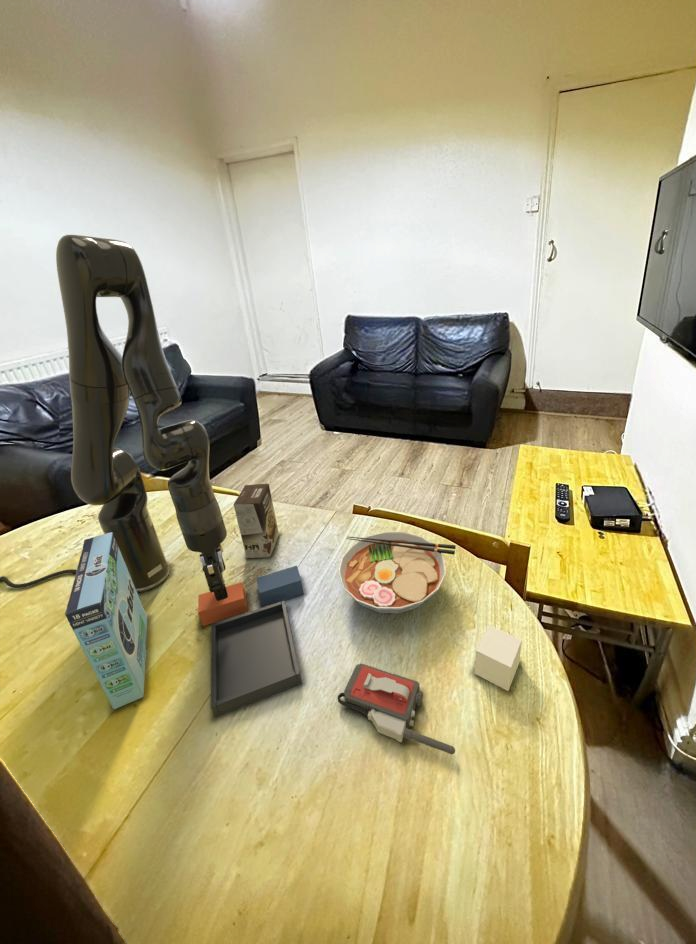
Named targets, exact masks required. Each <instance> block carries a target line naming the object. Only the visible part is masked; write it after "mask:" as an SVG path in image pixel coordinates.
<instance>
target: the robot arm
mask: <svg viewBox="0 0 696 944" xmlns="http://www.w3.org/2000/svg"><path fill="white" fill-rule="evenodd" d="M55 251H56V253H55V259H56V263H55V265H56V272H57V278H58V284H59V292H60V296H61V302H62V308H63V313H64V319H65V327H66V337H67V349H68V376H69V391H70V399H71V411H72V412H71V413H72V415H71V416H72V437H73V438H72V439H73V441H72V442H73V443H72V455H71V456H72V458H71V467H70V468H71V470H70V481H71V485H72V488H73V491H74V493H75V494H76V496H77V497H78V498H79V499H80V500H81V501H82V502H84V503H85V504H88V505H90V506H93V507H94V506H95V507H97V506H101V509H100V511H98V512H99V513H98V516H97V520H98V523H99V525H100V528H101V530H102V532H103V534H107V533H111V532H113V535H114V538H115V540H116V542H117V545H118V547H119V550H120V552H121V555H122V557H123V559H124V562H125V564H126V567H127V569H128V572H129V574H130V577H131V579H132V582H133V584H134V587H135V589H136V591H137V593H143V592H147V591H150V590H153V589H154V588H156V587H157V586H159V585H161V584H162V583H163V582H164V581H166V579H167V578H168V576H170V572H171V569H170V566H169V564H168V561H167V559H166V556H165V553H164V550H163V548H162V545H161V542H160V539H159V537H158V534H157V531H156V528H155V525H154V523H153V520H152V517H151V515H150V512H149V508H148V500H149V499H148V493H147V489H146V486H145V483H144V479H143V476H142V472H141V469H140V467H139V464H138V463H137V461H136V460H135V458H134V457H133V456H132V455H131V454H130V453H129V452H127V451H126V450H124V449H121V448H119V447H115V443H116V440H117V437H118V435H119V432H120V430H121V428H122V425H123V423H124V421H125V418H126V415H127V412H128V409H129V405H130V400H131V397H132V399H133V402H134V405H135V407H136V410H137V414H138V418H139V425H140V431H141V449H142V455H143V457H144V460H145V462H146V463H147V464H148V466H150V467H151V468H153V469H154V470H157V471H167V470H169V469H172V468H174V467H177V466H180V465H183V464H185V463H187V464H186V465H185V467H183V468H182V469H180V470H178V471H177V472H176V473H174V474H173V475H172V476H171V477H170V478H169V479H168V481H167V489H168V492H169V495H170V499H171V502H172V503H173V506H174V510H175V516H176V519H177V523H178V525H179V528H180V531H181V535H182V537H183V540H184V542H185V543H184V544H185V546H186V548H187V549H188V550H189V551H191V552H194V553H200V554H199V560H200V563H201V564H202V572H203V574H204V577H205V580H206V584H207V587H208V592H211V593H212V592H214V595H215V598H216V600H217V601H220V600H223V599H226V598H227V597H228V593H227V590H226V587H227V586H226V584H225V583H226V582H225V579H224V575H223V573H224V572H225V570H226V564H225V560H224V558H223V542H224V541H225V539H227V538H226V537H227V535H228V532H227V528H226V524H225V521H224V518H223V514H222V511H221V508H220V505H219V502H218V499H217V497H216V496H215V493H214V489H213V485H212V482H211V478H210V465H209V463H210V437H209V433H208V430H207V429H206V427H205V426H204V425H203V424H202V423H201V422H199V421H198V420H196V419H187V420H183V421H180V422H177V423H174V424H170V425H167V426H164V427H160V428H159V420H160V419H161V418H162V417H163V416H164V415H166V414H168V413H170V412H172V411H174V410H176V409H177V408H179V407H180V406H181V405H182V402H183V400H182V396H181V394H180V393H181V392H180V391H179V388H178V386H177V384H176V381H175V379H174V376H173V373H172V370H171V369H170V368H171V367H170V366H169V364H168V360H167V358H166V355H165V352H164V349H163V346H162V342H161V338H160V334H159V328H158V324H157V319H156V315H155V310H154V305H153V302H152V297H151V293H150V288H149V284H148V280H147V276H146V273H145V269H144V267H143V263H142V260H141V259H140V257H139V255H138V253H137V251H136V250H135V249H134V248H133V246H132V245H131V244H130V243H127V242H126V241H123V240H118V239H112V238H103V237H97V236H96V237H95V236H88V235H79V234H65V235H63V236H61V237H60V239H59V240H58V242H57V245H56V249H55ZM97 298H120V299H121V301H122V303H123V306H124V308H125V311H126V314H127V320H128V322H127V323H128V324H127V333H126V338H125V341H124V347H123V350H122V353H120V351H119V350H118V349H117V348H116V347H115V345H114V344H113V343H112V341H111V340H110V339H109V337H108V336H107V335H106V333H105V331H104V330H103V328H102V326H101V323H100V320H99V316H98V315H99V314H98V308H97ZM76 571H77V569H73V568H72V569H70V568H69V569H63V570H60V571H56V572H53V573H50V574H48V575H45V576H42V577H40V578H38V579H35V580H31V581H29V582H24V583H14V582H12V581H10V580H9V579H8V578H7V577H6V576H3V575H2V576H0V582H3V583H4V584H5V585H6V586H8V587H9V588H13V589H22V588H27V587H30V586H34V585H37V584H39V583H41V582H45V581H47V580H49V579H51V578H54V577H57V576H61V575H66V574H76Z"/></svg>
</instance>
